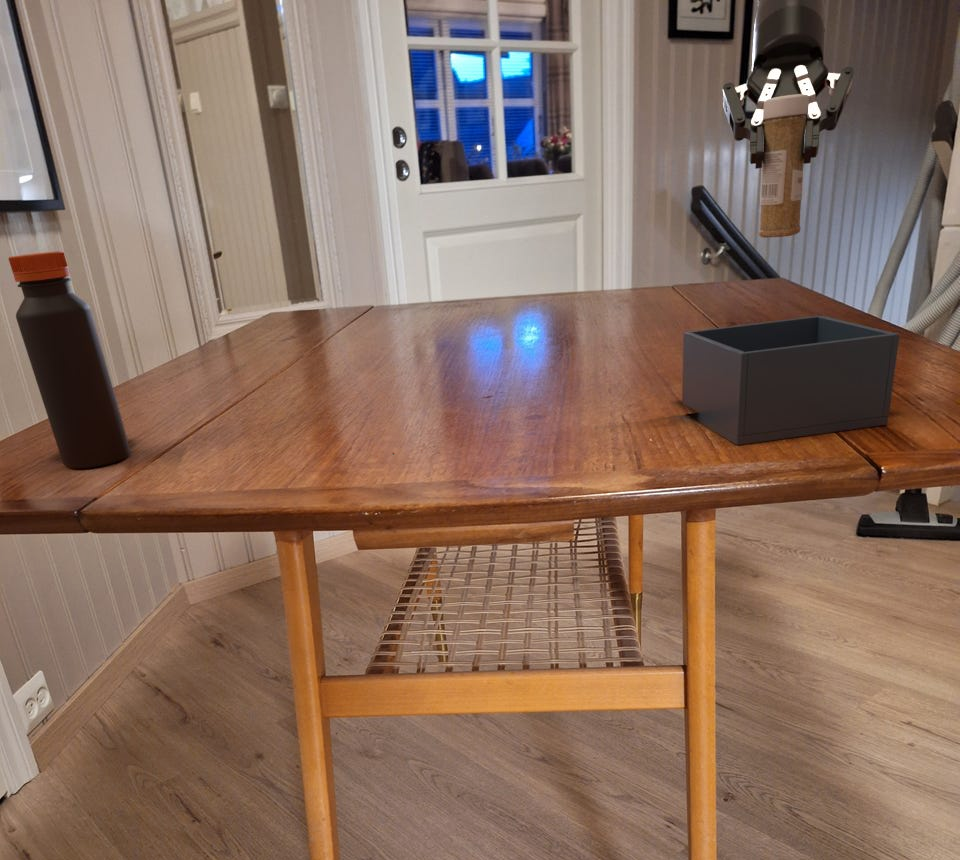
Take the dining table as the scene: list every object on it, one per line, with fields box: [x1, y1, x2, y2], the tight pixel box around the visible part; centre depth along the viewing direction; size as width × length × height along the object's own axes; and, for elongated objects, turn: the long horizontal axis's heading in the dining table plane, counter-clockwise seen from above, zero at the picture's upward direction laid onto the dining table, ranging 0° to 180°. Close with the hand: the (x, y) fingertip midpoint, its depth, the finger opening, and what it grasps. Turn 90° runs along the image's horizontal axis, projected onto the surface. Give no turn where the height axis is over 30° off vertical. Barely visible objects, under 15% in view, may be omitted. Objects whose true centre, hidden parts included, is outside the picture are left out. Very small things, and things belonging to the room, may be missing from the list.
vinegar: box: [7, 250, 131, 470], centre depth 87 cm, size 7×7×20 cm
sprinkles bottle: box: [757, 94, 809, 239], centre depth 95 cm, size 5×5×13 cm
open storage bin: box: [681, 315, 900, 446], centre depth 81 cm, size 14×13×8 cm
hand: (783, 159), depth 93 cm, fingers closed on sprinkles bottle, 4 cm apart
